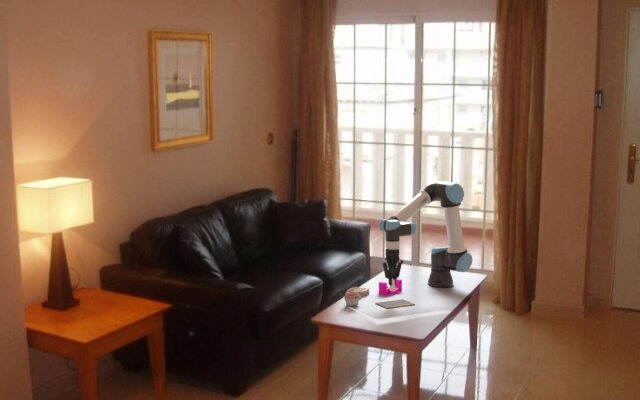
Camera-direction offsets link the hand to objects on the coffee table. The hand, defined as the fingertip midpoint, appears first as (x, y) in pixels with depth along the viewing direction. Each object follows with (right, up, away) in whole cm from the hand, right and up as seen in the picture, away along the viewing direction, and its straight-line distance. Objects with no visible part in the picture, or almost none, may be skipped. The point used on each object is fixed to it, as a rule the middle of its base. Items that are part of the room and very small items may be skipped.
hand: (392, 290), depth 428 cm
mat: (+2, -8, +2) cm, 8 cm away
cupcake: (-22, -8, 0) cm, 23 cm away
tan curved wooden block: (-22, -3, +24) cm, 32 cm away
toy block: (+2, -5, +27) cm, 28 cm away
